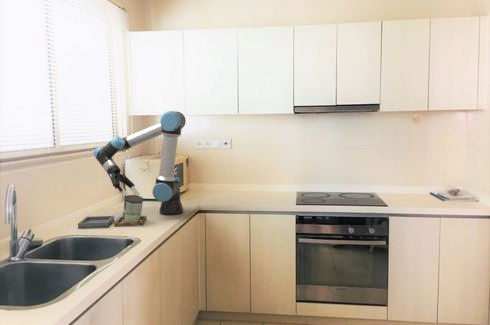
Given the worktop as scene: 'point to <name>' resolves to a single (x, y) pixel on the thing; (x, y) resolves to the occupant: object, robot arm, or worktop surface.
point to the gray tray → (96, 222)
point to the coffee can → (132, 208)
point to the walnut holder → (118, 224)
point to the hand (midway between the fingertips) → (131, 195)
